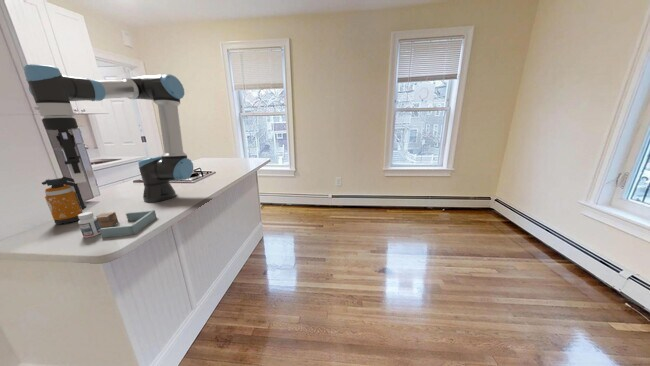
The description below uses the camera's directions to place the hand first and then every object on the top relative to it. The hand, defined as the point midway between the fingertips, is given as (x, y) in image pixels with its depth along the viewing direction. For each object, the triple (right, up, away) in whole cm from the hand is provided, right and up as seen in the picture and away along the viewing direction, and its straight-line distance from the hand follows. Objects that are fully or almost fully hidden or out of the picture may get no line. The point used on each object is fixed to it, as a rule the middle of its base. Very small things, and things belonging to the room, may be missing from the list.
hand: (79, 179), depth 82 cm
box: (+7, -19, +14) cm, 25 cm away
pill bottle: (-4, -22, +8) cm, 24 cm away
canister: (-28, -18, +23) cm, 41 cm away
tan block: (-5, -19, +16) cm, 26 cm away
